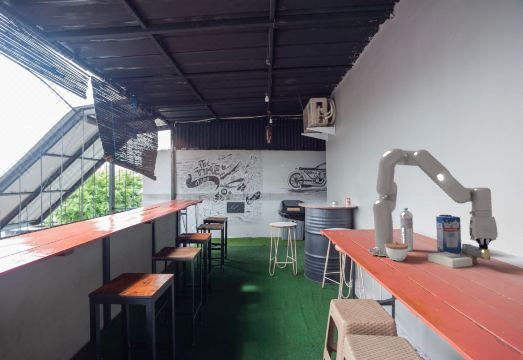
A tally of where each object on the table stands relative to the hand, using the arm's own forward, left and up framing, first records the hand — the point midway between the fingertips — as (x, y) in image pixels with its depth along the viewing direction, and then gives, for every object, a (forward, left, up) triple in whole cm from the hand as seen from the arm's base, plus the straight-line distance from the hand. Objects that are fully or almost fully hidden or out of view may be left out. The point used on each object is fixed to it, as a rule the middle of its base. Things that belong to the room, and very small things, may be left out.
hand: (483, 252), depth 137 cm
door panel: (-10, +10, -6) cm, 15 cm away
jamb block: (-1, +7, -6) cm, 9 cm away
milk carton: (+10, +28, -7) cm, 31 cm away
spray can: (+16, +35, -7) cm, 39 cm away
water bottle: (-8, +40, -7) cm, 41 cm away
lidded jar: (-29, +24, -7) cm, 38 cm away
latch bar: (-3, +1, -1) cm, 4 cm away
